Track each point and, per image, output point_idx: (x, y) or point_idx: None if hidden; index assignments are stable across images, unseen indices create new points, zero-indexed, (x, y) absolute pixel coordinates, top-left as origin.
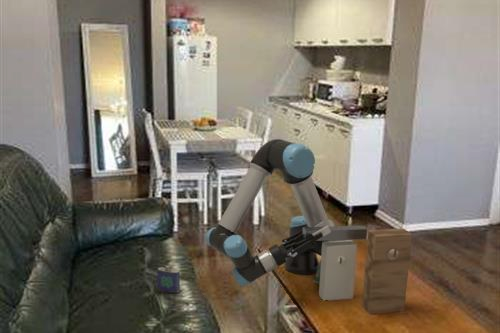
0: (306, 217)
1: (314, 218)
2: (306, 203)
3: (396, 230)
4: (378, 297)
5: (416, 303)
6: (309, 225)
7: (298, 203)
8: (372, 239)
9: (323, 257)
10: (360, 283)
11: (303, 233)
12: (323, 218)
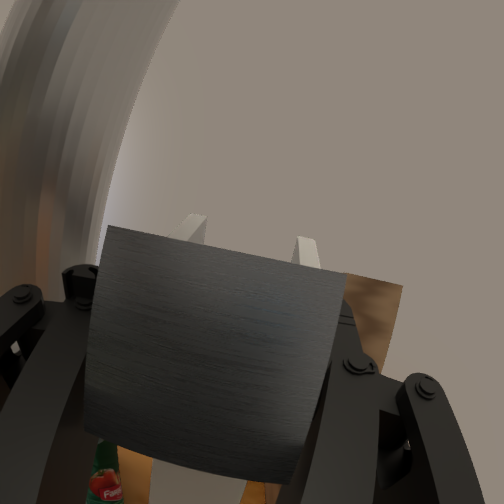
0: (13, 179)
1: (78, 196)
2: (121, 16)
3: None
4: None
5: None
6: (8, 266)
7: (25, 18)
8: (378, 302)
9: (191, 481)
10: (139, 456)
11: (151, 361)
12: (102, 218)
